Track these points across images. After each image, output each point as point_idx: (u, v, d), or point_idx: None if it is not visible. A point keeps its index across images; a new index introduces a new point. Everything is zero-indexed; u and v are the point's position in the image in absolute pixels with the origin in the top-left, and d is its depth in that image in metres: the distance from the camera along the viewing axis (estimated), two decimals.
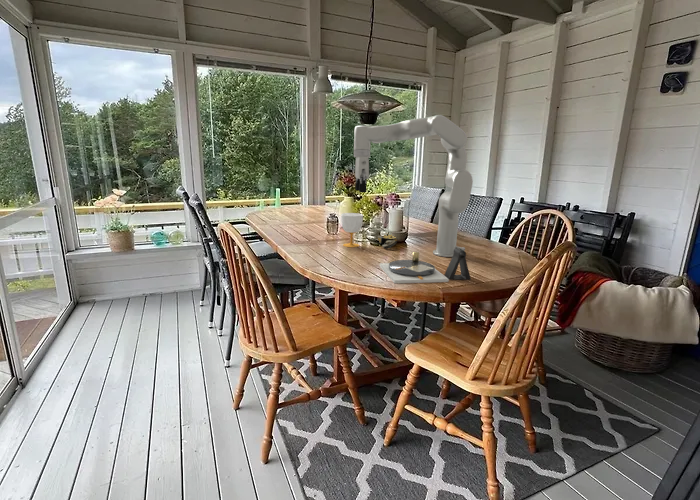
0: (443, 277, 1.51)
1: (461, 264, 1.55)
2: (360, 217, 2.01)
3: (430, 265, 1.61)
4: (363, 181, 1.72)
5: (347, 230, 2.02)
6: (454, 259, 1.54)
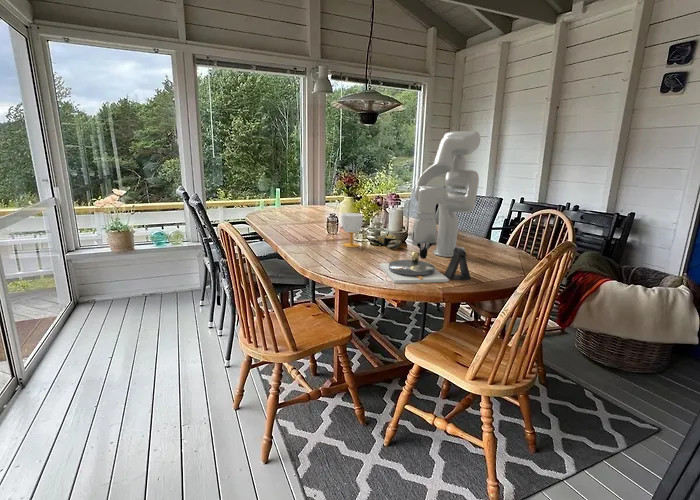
0: (443, 277, 1.51)
1: (461, 264, 1.55)
2: (360, 217, 2.01)
3: (430, 265, 1.61)
4: None
5: (347, 230, 2.02)
6: (454, 259, 1.54)
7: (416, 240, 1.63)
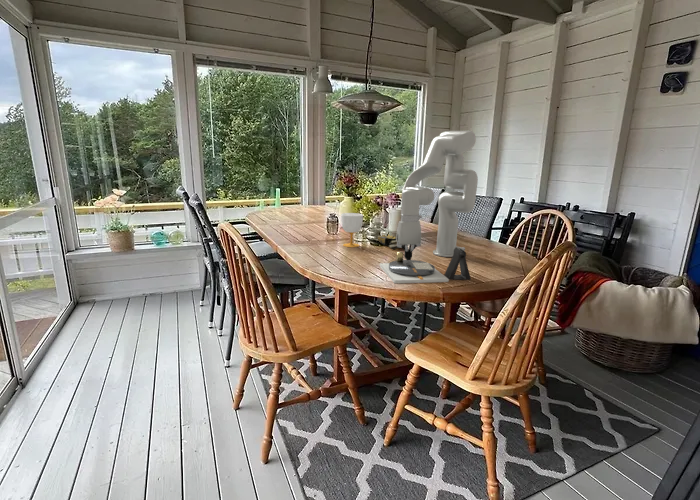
0: (443, 277, 1.51)
1: (461, 264, 1.55)
2: (360, 217, 2.01)
3: (418, 261, 1.67)
4: None
5: (347, 230, 2.02)
6: (454, 259, 1.54)
7: (400, 242, 1.63)
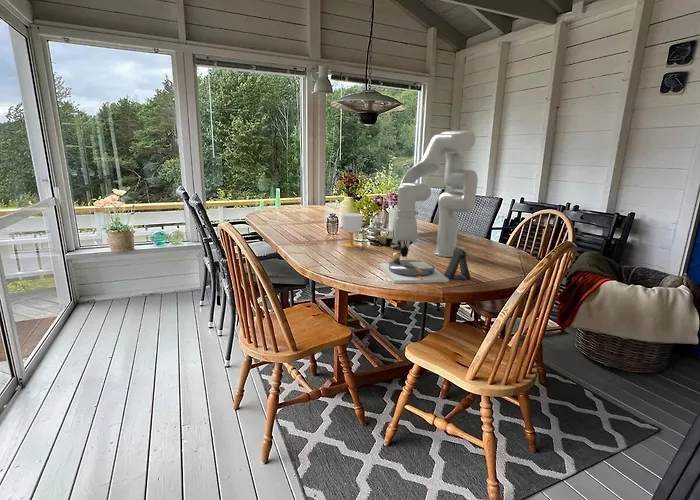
0: (443, 277, 1.51)
1: (461, 264, 1.55)
2: (360, 217, 2.01)
3: (413, 260, 1.68)
4: None
5: (347, 230, 2.02)
6: (454, 259, 1.54)
7: (396, 238, 1.62)
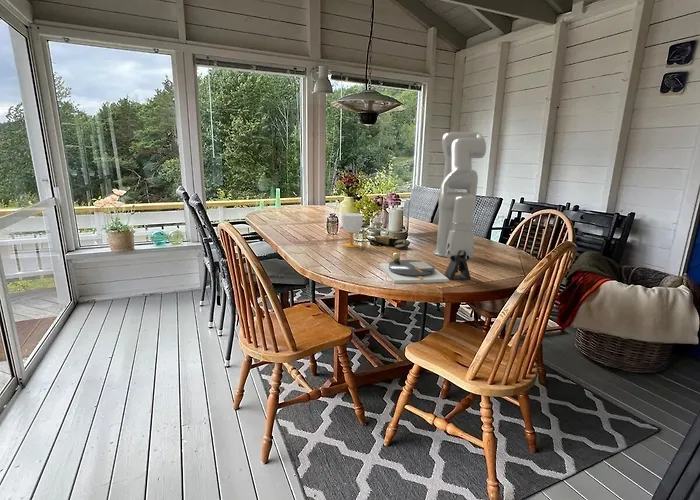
0: (443, 277, 1.51)
1: None
2: (360, 217, 2.01)
3: (413, 260, 1.68)
4: None
5: (347, 230, 2.02)
6: None
7: (451, 252, 1.51)
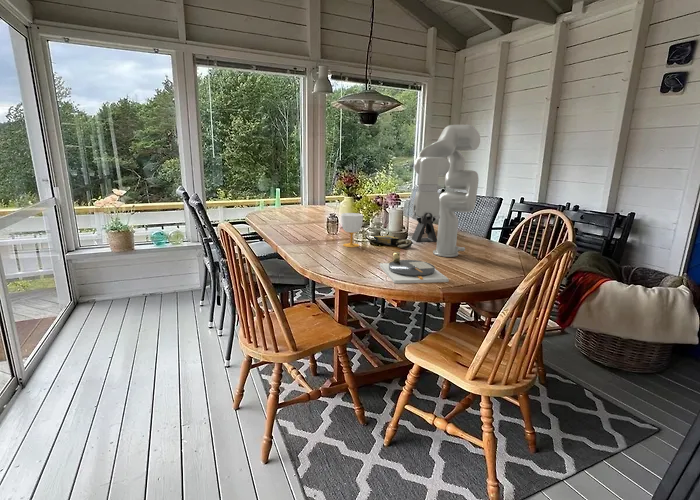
0: (443, 277, 1.51)
1: None
2: (360, 217, 2.01)
3: (413, 260, 1.68)
4: None
5: (347, 230, 2.02)
6: None
7: (417, 214, 1.53)
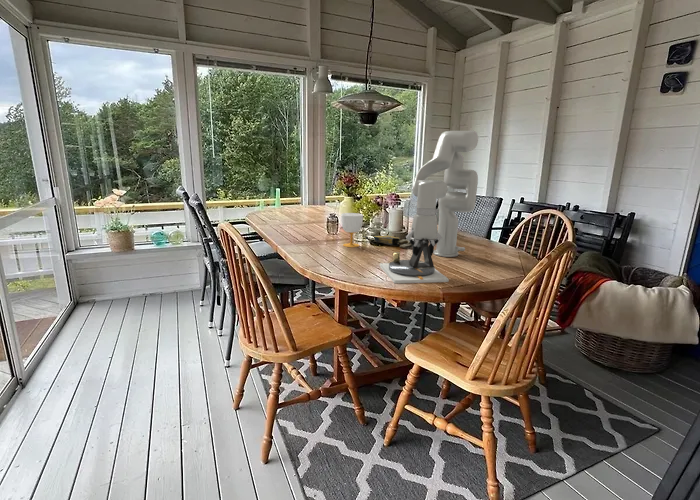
0: (443, 277, 1.51)
1: (424, 252, 1.60)
2: (360, 217, 2.01)
3: None
4: None
5: (347, 230, 2.02)
6: (418, 247, 1.58)
7: (415, 237, 1.55)
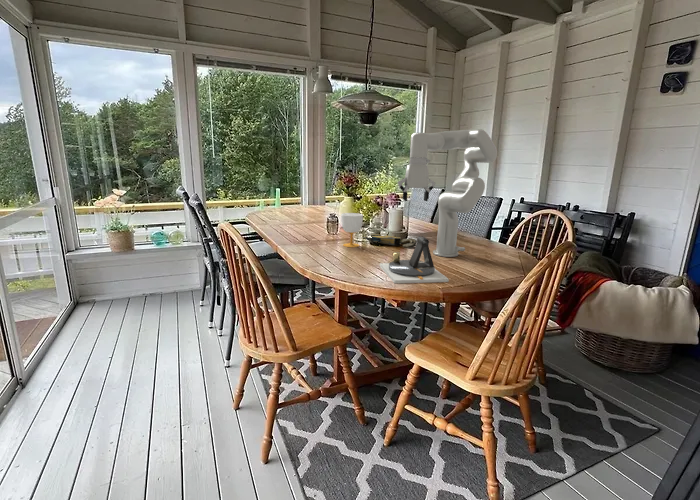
0: (443, 277, 1.51)
1: (424, 252, 1.60)
2: (360, 217, 2.01)
3: None
4: None
5: (347, 230, 2.02)
6: (418, 247, 1.58)
7: (408, 185, 1.68)
